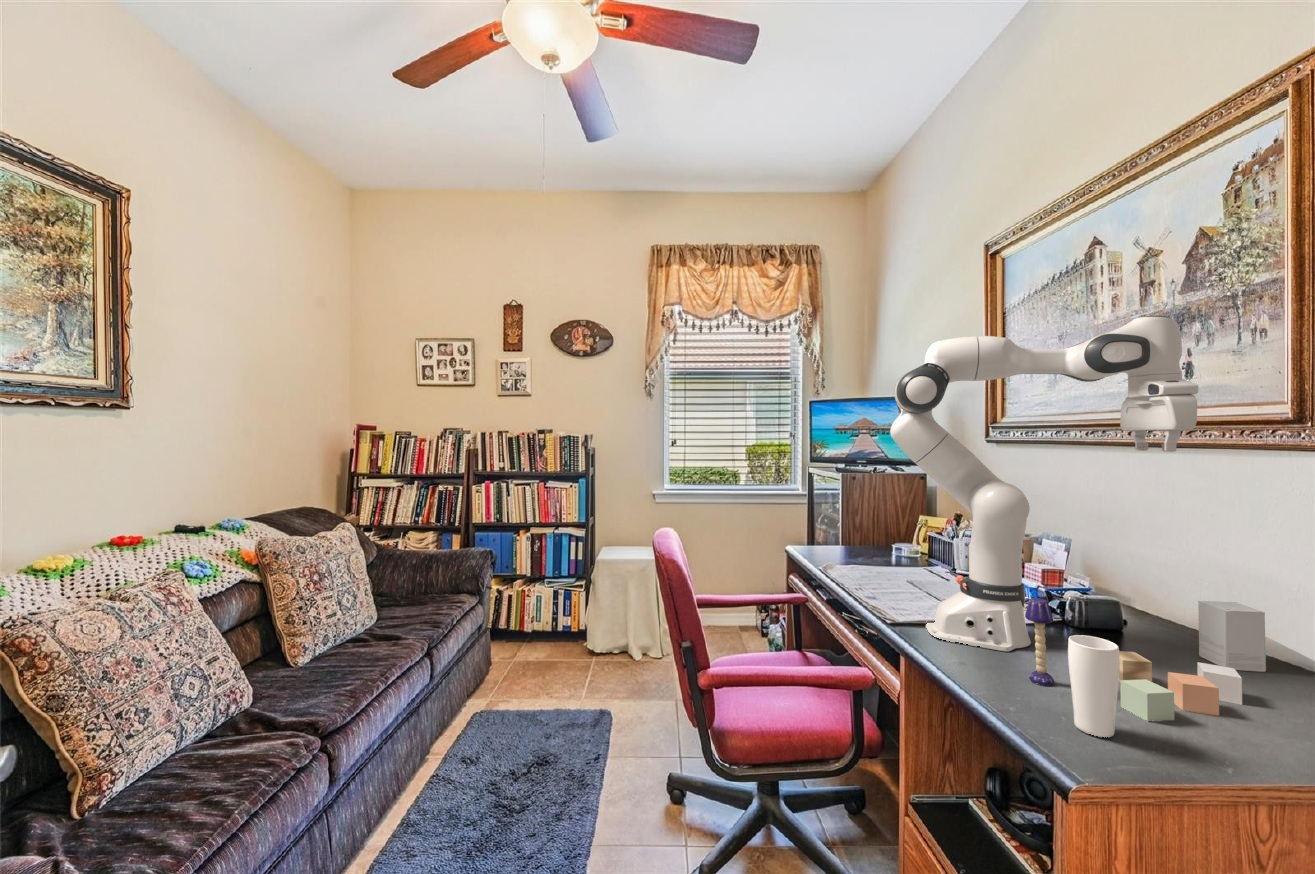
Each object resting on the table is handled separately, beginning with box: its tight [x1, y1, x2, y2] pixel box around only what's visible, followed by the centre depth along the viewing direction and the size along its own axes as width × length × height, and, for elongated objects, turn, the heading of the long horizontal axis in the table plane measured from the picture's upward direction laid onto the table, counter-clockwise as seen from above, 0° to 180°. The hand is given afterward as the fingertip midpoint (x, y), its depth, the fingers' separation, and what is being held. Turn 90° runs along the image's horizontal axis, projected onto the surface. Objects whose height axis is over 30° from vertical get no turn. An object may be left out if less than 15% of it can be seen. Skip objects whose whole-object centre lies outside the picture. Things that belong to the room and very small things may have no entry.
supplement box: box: [1197, 600, 1267, 673], centre depth 115 cm, size 7×7×13 cm
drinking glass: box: [1067, 634, 1120, 739], centre depth 90 cm, size 7×7×15 cm
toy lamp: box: [1024, 597, 1056, 687], centre depth 107 cm, size 5×5×17 cm
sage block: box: [1119, 679, 1175, 722], centre depth 95 cm, size 5×5×5 cm
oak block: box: [1119, 650, 1153, 683], centre depth 108 cm, size 5×5×5 cm
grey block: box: [1196, 662, 1243, 706], centre depth 101 cm, size 5×5×5 cm
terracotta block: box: [1167, 671, 1220, 717], centre depth 97 cm, size 5×5×5 cm
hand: (1154, 451), depth 118 cm, fingers open, 8 cm apart
